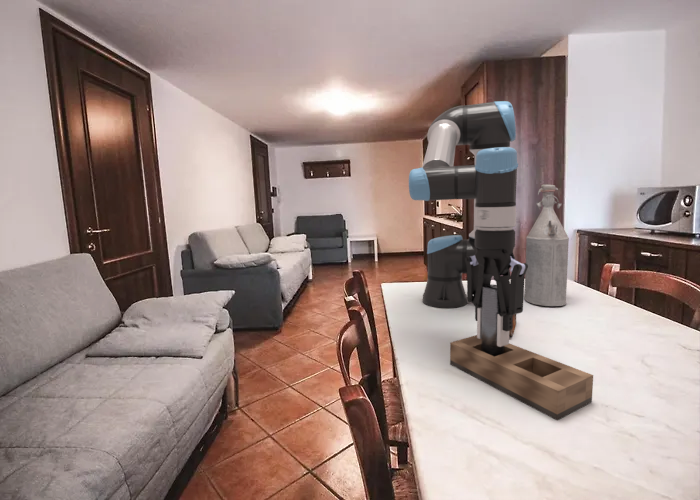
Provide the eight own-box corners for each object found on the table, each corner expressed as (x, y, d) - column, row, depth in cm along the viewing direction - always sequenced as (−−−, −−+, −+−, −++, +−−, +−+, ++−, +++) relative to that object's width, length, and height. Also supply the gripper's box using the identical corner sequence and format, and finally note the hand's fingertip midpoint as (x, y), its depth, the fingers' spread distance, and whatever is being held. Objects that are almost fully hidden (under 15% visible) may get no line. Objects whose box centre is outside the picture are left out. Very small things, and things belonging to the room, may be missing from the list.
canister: (529, 307, 117) (533, 184, 112) (520, 294, 134) (523, 186, 128) (573, 309, 113) (579, 182, 108) (559, 295, 130) (564, 184, 125)
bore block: (450, 364, 79) (450, 342, 78) (482, 353, 84) (482, 333, 83) (557, 420, 58) (558, 391, 58) (591, 402, 63) (593, 375, 62)
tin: (511, 340, 91) (512, 308, 90) (498, 338, 93) (498, 307, 92) (517, 322, 104) (517, 294, 103) (505, 321, 106) (505, 293, 105)
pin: (476, 360, 76) (477, 286, 74) (490, 355, 78) (492, 283, 76) (493, 368, 72) (495, 290, 70) (508, 363, 74) (510, 287, 72)
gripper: (449, 227, 77) (449, 331, 80) (521, 232, 62) (517, 360, 65) (474, 225, 81) (473, 325, 84) (548, 229, 66) (543, 351, 69)
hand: (492, 340), depth 75 cm, fingers closed on pin, 4 cm apart
